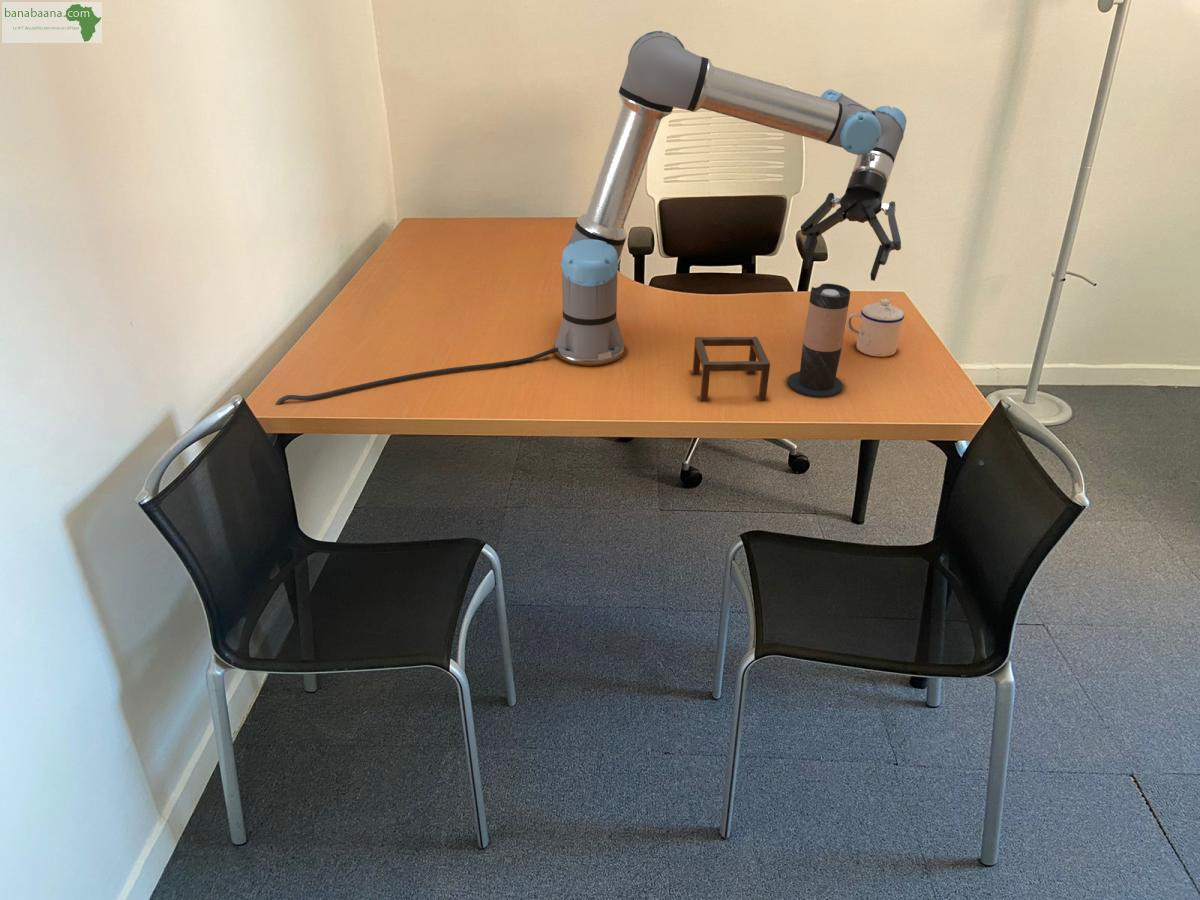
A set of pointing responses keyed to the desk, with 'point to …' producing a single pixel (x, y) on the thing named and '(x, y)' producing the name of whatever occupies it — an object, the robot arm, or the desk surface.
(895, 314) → the teacup with lid
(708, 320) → the desk surface
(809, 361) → the travel mug
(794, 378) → the coaster
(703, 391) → the rack
